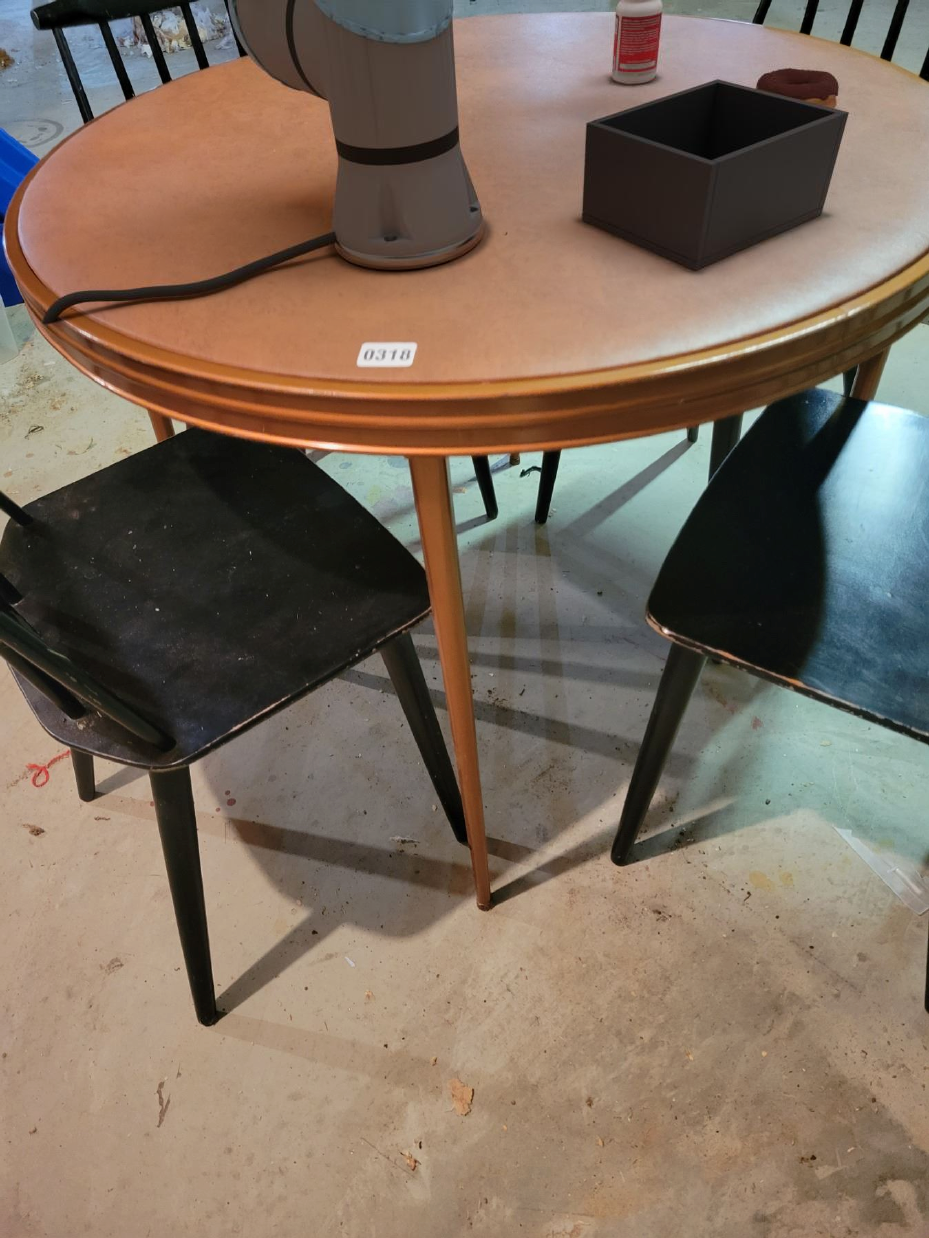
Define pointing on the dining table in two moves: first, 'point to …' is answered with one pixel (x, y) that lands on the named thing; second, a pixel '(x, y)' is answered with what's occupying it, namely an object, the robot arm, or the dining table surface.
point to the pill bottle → (636, 40)
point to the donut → (801, 85)
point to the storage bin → (709, 170)
